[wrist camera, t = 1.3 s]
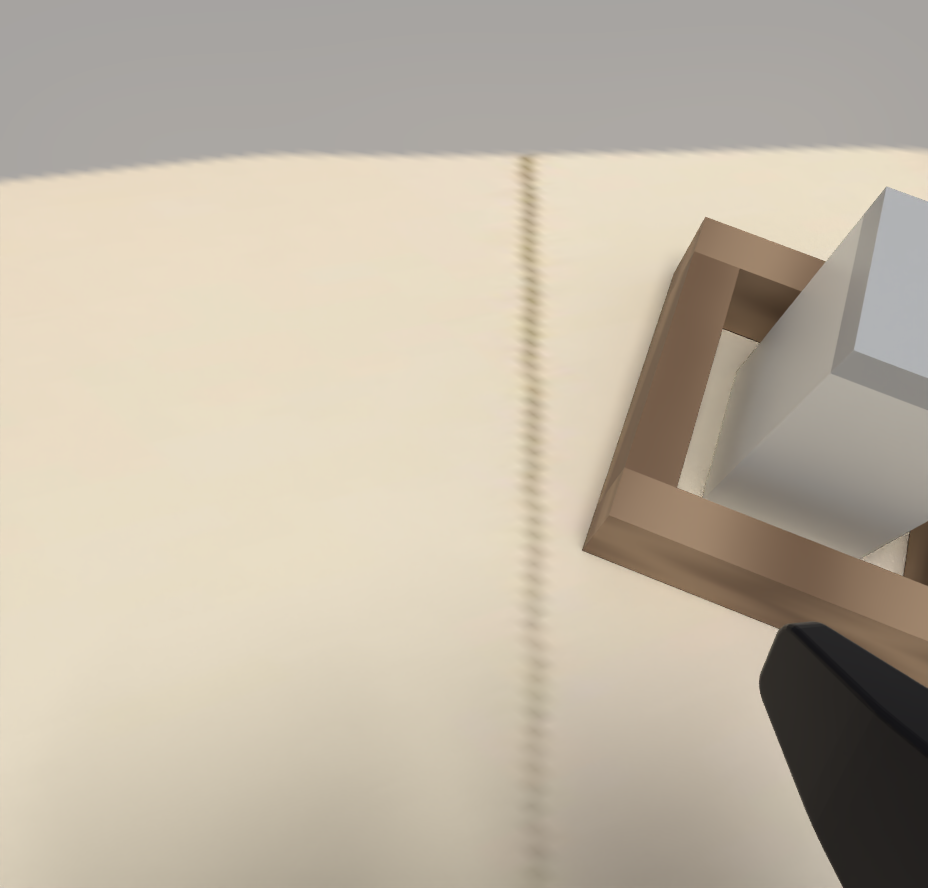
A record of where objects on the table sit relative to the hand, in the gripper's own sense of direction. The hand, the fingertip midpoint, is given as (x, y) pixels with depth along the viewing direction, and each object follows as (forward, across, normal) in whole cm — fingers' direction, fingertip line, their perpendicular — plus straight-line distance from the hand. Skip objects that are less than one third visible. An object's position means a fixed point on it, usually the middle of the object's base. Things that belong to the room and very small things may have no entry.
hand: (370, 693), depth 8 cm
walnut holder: (+14, -16, +7) cm, 22 cm away
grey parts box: (+14, -16, +7) cm, 22 cm away
